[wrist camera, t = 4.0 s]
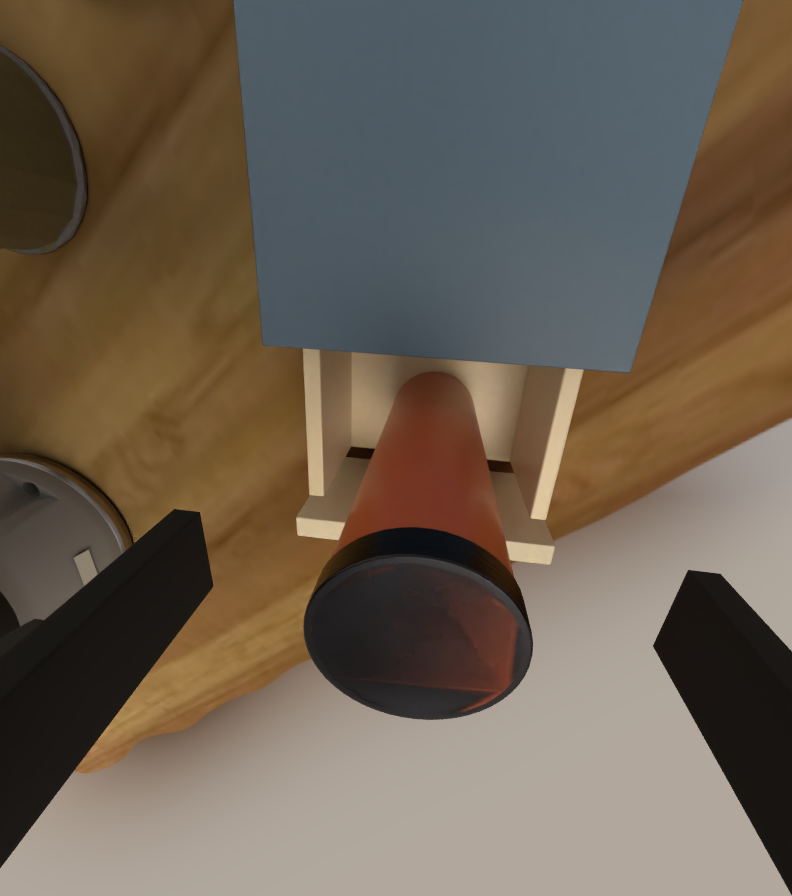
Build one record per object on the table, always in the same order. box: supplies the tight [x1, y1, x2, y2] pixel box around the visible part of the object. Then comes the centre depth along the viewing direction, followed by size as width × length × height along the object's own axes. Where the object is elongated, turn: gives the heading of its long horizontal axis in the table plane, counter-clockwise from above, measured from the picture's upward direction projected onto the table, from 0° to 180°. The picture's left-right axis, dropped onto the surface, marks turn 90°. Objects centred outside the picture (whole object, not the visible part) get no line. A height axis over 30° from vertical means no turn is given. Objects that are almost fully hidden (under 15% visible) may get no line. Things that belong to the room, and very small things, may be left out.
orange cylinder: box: [303, 372, 533, 720], centre depth 16 cm, size 5×5×17 cm
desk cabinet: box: [233, 0, 743, 373], centre depth 17 cm, size 15×15×10 cm
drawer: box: [296, 348, 584, 564], centre depth 22 cm, size 18×13×8 cm
